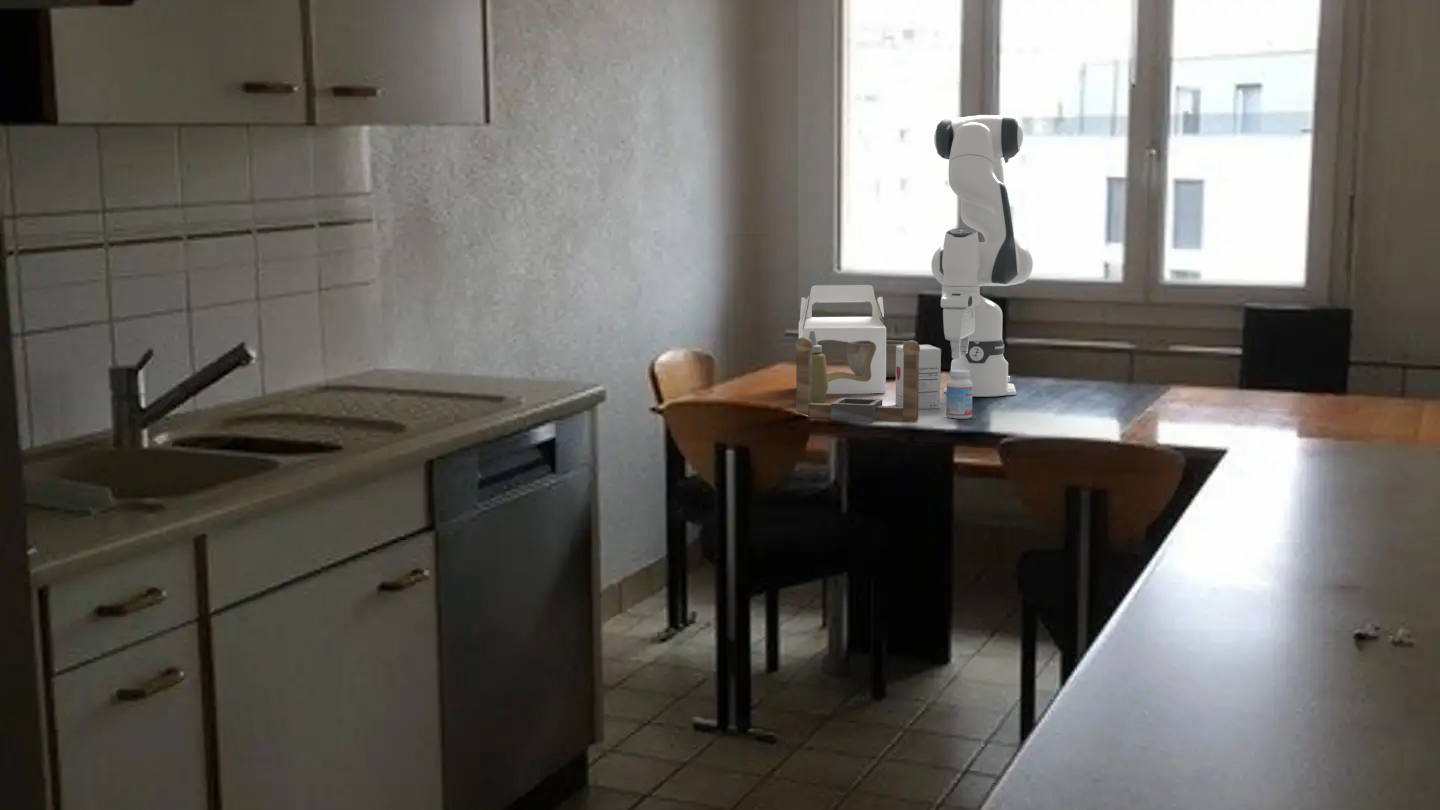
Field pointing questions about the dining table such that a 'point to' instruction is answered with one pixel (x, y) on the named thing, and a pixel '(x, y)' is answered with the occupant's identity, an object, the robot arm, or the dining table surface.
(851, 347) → the bowl
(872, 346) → the gable box
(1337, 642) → the dining table surface
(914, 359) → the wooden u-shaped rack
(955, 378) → the pill bottle
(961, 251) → the robot arm
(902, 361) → the supplement box
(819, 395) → the squeeze bottle
